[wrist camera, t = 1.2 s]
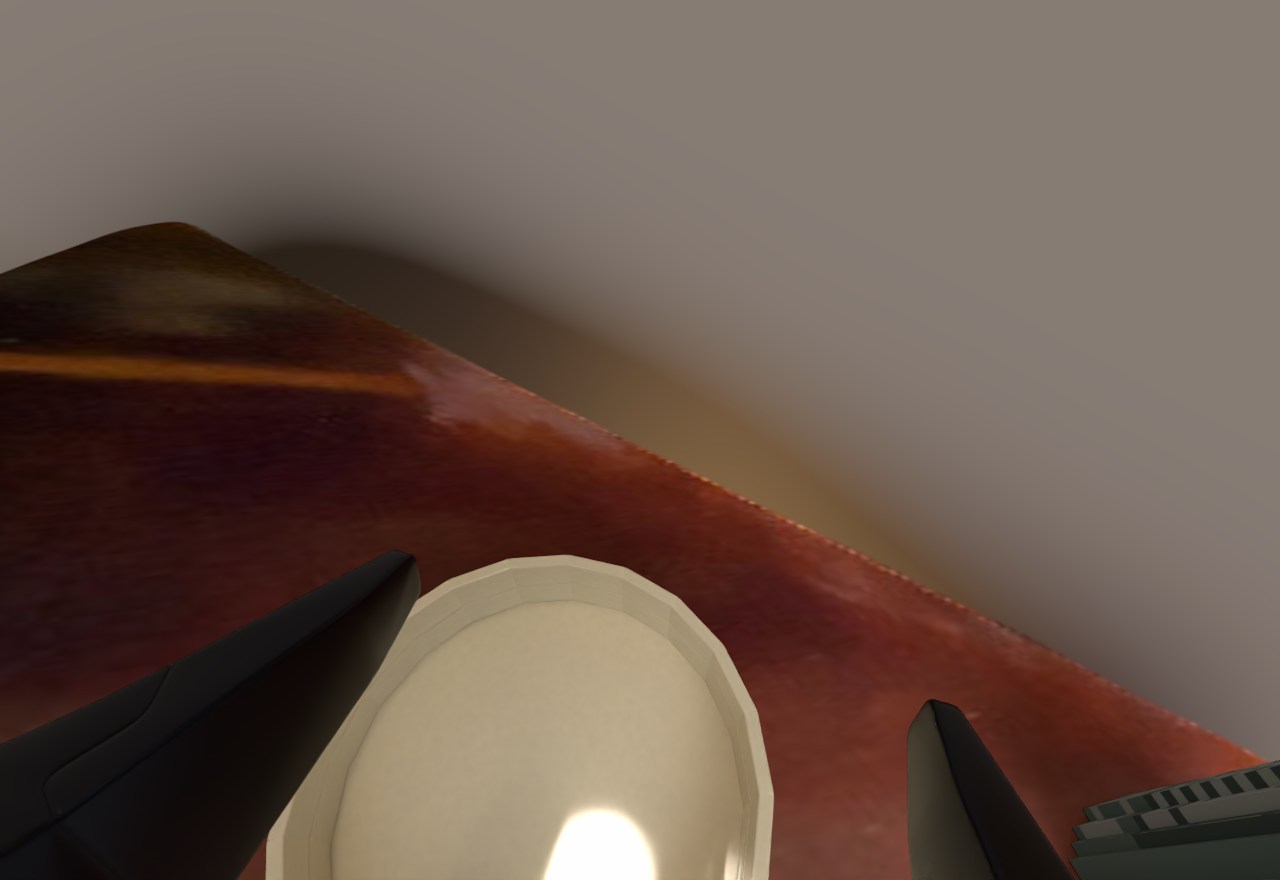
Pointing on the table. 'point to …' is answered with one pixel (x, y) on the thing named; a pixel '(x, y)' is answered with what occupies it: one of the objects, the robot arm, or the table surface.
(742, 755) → the pan
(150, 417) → the table surface
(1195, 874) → the can
